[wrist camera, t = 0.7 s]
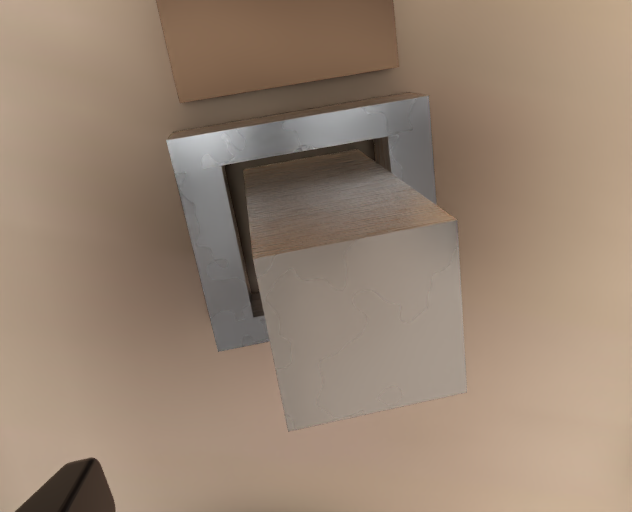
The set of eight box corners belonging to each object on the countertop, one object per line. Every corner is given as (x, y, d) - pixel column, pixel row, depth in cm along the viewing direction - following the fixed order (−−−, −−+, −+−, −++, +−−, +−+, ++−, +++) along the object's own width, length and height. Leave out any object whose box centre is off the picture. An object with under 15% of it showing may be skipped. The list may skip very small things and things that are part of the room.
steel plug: (370, 255, 20) (467, 392, 12) (264, 275, 20) (287, 431, 12) (357, 148, 19) (457, 219, 11) (243, 168, 19) (253, 259, 10)
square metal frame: (425, 283, 21) (443, 305, 19) (219, 324, 20) (218, 351, 18) (409, 91, 18) (428, 95, 17) (173, 131, 18) (166, 140, 16)
